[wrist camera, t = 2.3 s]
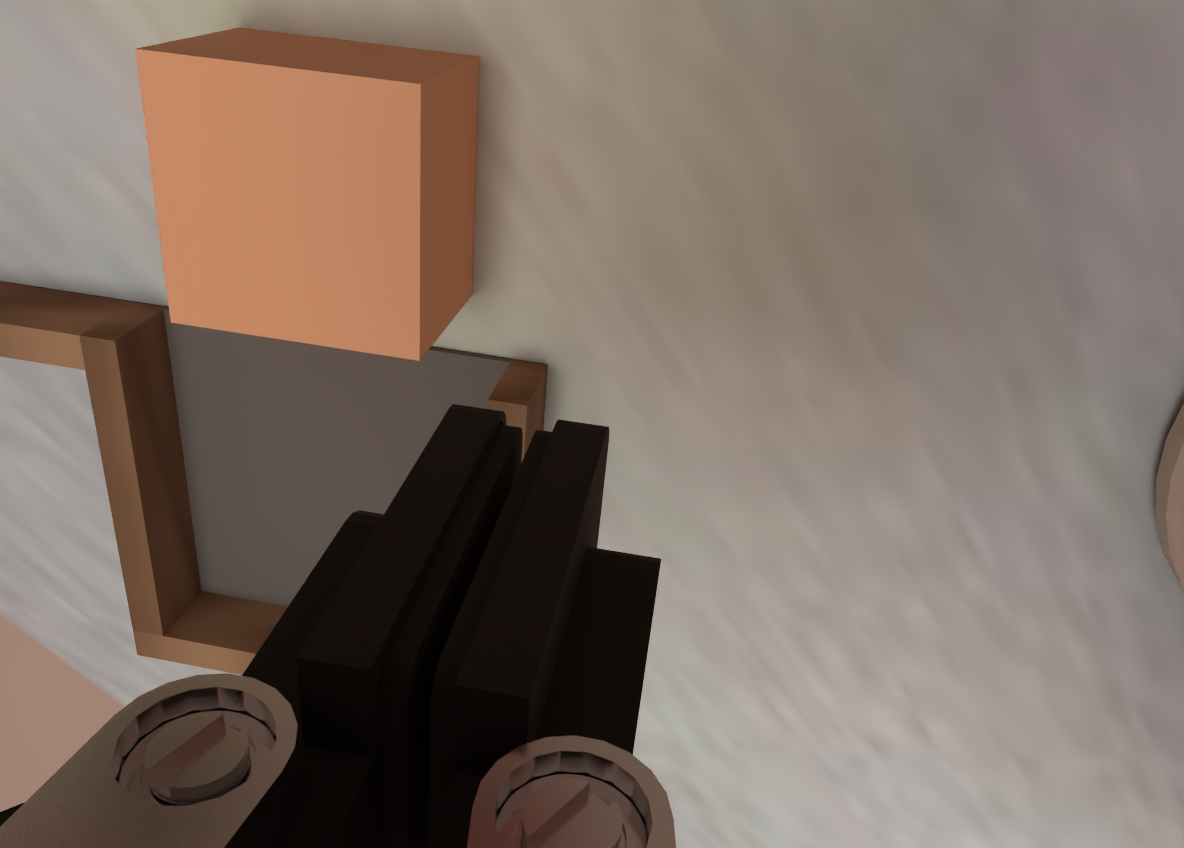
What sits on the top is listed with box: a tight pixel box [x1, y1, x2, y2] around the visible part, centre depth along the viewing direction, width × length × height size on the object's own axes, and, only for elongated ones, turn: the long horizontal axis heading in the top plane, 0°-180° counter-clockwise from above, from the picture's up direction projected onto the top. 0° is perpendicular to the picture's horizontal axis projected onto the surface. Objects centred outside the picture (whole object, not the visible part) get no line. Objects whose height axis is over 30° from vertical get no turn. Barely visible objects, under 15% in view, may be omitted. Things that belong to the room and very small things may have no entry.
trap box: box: [0, 282, 548, 675], centre depth 24 cm, size 26×32×2 cm
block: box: [136, 28, 479, 361], centre depth 23 cm, size 6×6×4 cm
